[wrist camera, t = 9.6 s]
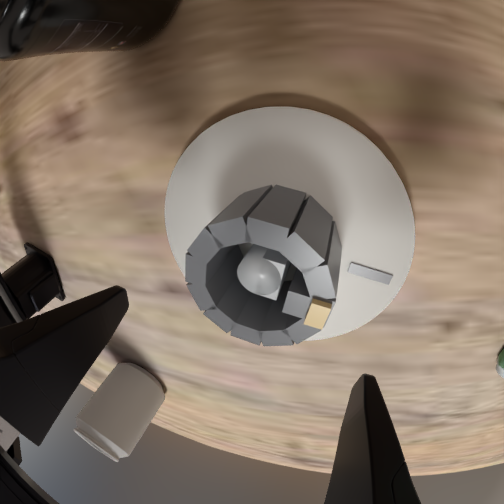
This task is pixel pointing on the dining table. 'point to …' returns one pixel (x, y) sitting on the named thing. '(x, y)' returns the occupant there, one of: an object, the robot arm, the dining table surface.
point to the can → (120, 410)
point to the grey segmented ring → (277, 238)
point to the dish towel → (500, 364)
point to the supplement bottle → (78, 25)
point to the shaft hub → (312, 183)
